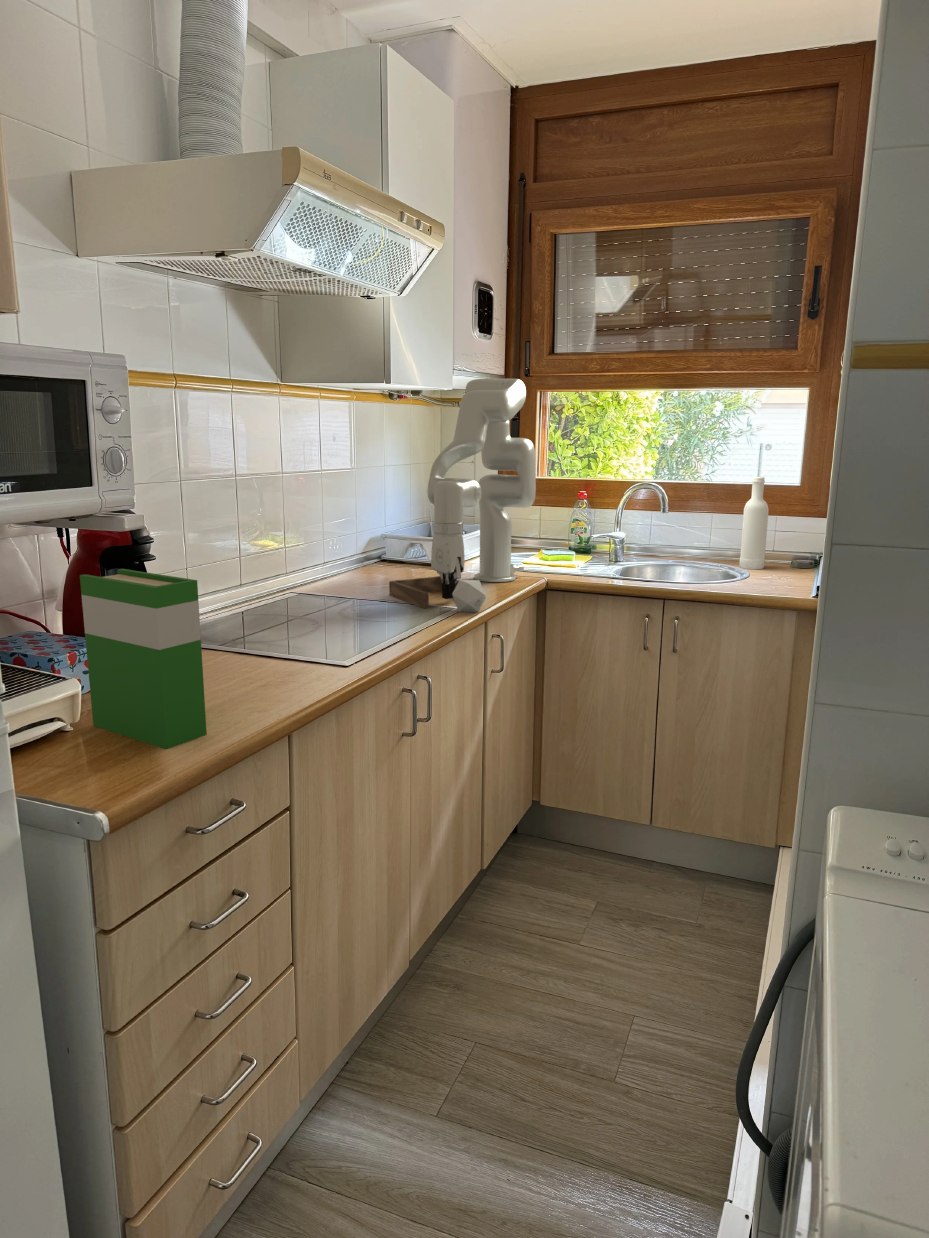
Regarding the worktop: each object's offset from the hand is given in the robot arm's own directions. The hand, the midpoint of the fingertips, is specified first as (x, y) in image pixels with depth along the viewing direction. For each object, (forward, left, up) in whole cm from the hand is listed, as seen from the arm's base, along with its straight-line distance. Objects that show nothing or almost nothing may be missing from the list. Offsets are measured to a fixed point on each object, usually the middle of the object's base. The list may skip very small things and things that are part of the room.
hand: (448, 598), depth 233 cm
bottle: (-118, 0, -2) cm, 118 cm away
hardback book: (+90, +61, -2) cm, 109 cm away
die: (0, +11, -2) cm, 11 cm away
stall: (0, -7, -1) cm, 7 cm away
